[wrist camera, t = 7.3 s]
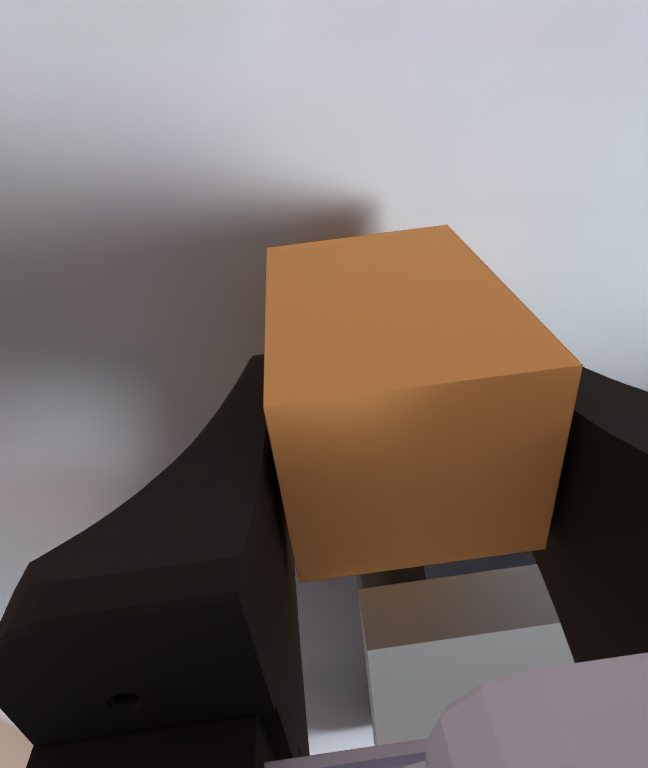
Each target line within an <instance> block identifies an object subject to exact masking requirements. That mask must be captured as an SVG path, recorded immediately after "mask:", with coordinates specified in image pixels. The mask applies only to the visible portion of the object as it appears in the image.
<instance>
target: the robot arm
mask: <svg viewBox="0 0 648 768" xmlns="http://www.w3.org/2000/svg"><path fill="white" fill-rule="evenodd" d="M263 399H264V354H262V355H255V356H253V357H252V358H251V359H250V360H249V362H248V363H247V365H246V367H245V369H244V371H243V372H242V374H241V376H240V377H239V379H238V381H237V382H236V384H235V386H234V387H233V389H232V390H231V392H230V393H229V395H228V396H227V398H226V399H225V401H224V402H223V404H222V405H221V407H220V408H219V410H218V411H217V412H216V414H215V415H214V416H213V418H212V419H211V420H210V421H209V423H208V424H207V425H206V427H205V428H204V429H203V430H202V432H201V433H200V434H199V435H198V437H197V438H196V439H195V440H194V441H193V442H192V443H191V445H190V446H189V447H188V448H187V449H186V450H185V451H184V452H183V453H182V454H181V455H180V456H179V457H178V458H177V459H176V460H175V461H174V462H173V463H172V464H171V465H170V466H168V467H167V468H166V469H165V470H164V471H163V472H161V473H160V474H159V475H158V476H157V477H156V478H154V479H153V480H152V481H151V482H150V483H149V484H147V485H146V486H145V487H144V488H143V489H142V490H141V491H139V492H138V493H137V494H135V495H134V496H133V497H132V498H130V499H129V500H127V501H126V502H125V503H123V504H122V505H121V506H119V507H118V508H117V509H115V510H114V511H112V512H111V513H110V514H108V515H107V516H105V517H104V518H102V519H101V520H99V521H98V522H97V523H95V524H93V525H92V526H90V527H89V528H87V529H86V530H84V531H83V532H81V533H79V534H78V535H76V536H74V537H73V538H71V539H69V540H68V541H66V542H64V543H63V544H61V545H59V546H58V547H56V548H54V549H53V550H51V551H49V552H48V553H46V554H44V555H43V556H41V557H39V558H37V559H35V560H34V561H32V562H30V563H29V564H28V566H27V568H26V570H25V572H24V574H23V575H22V577H21V579H20V581H19V583H18V585H17V586H16V588H15V590H14V592H13V594H12V597H11V599H10V601H9V603H8V606H7V608H6V610H5V612H4V614H3V617H2V619H1V621H0V709H1V710H2V711H3V712H4V713H5V714H6V715H7V716H8V717H9V719H10V720H11V721H12V722H13V723H14V724H15V725H16V726H17V727H18V729H19V730H20V731H21V732H22V733H23V734H24V735H25V736H26V737H27V738H28V740H29V741H30V742H31V743H32V744H33V745H34V746H33V749H32V752H31V755H30V758H29V761H28V764H27V767H26V768H648V392H647V391H644V390H641V389H638V388H635V387H632V386H629V385H626V384H624V383H621V382H618V381H616V380H613V379H610V378H608V377H606V376H603V375H601V374H598V373H596V372H594V371H591V370H589V369H586V368H584V367H582V372H581V377H580V382H579V387H578V391H577V396H576V401H575V406H574V411H573V416H572V421H571V426H570V431H569V435H568V440H567V445H566V450H565V455H564V460H563V465H562V470H561V475H560V479H559V484H558V489H557V494H556V499H555V504H554V509H553V514H552V518H551V523H550V528H549V533H548V538H547V543H546V548H545V549H543V550H535V551H532V553H533V556H534V558H535V560H536V563H537V565H538V567H539V570H540V572H541V575H542V577H543V580H544V582H545V585H546V587H547V590H548V593H549V595H550V598H551V600H552V603H553V605H554V608H555V610H556V613H557V616H558V618H559V621H560V624H561V626H562V629H563V632H564V635H565V637H566V640H567V643H568V646H569V648H570V651H571V654H572V657H573V659H574V662H575V663H573V664H566V665H559V666H552V667H545V668H539V669H532V670H528V671H525V672H521V673H518V674H514V675H510V676H507V677H503V678H500V679H496V680H493V681H489V682H486V683H482V684H480V685H479V686H477V687H476V688H474V689H473V690H471V691H469V692H468V693H466V694H465V695H463V696H461V697H460V698H458V699H457V700H455V701H453V702H452V703H450V704H449V705H447V706H446V707H445V709H444V710H443V712H442V714H441V715H440V717H439V719H438V721H437V723H436V724H435V726H434V728H433V730H432V732H431V734H430V735H429V737H428V738H426V739H419V740H412V741H406V742H399V743H392V744H385V745H379V746H372V747H365V748H358V749H351V750H345V751H338V752H331V753H324V754H318V755H311V756H310V754H309V743H308V732H307V721H306V709H305V697H304V685H303V673H302V661H301V648H300V635H299V622H298V609H297V595H296V581H295V566H294V555H293V550H292V545H291V540H290V535H289V530H288V526H287V521H286V516H285V511H284V506H283V501H282V496H281V491H280V486H279V481H278V477H277V472H276V467H275V462H274V457H273V452H272V447H271V442H270V437H269V432H268V427H267V423H266V418H265V413H264V408H263Z"/></svg>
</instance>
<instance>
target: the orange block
mask: <svg viewBox="0 0 648 768" xmlns="http://www.w3.org/2000/svg"><path fill="white" fill-rule="evenodd" d="M582 367H583V365H582V364H581V363H580V361H579V360H578V359H577V358H576V357H575V356H574V355H573V354H572V353H571V352H570V351H569V350H568V349H567V348H566V347H565V346H564V345H563V344H562V343H561V342H560V341H559V340H558V339H557V338H556V337H555V336H554V335H553V334H552V333H551V332H550V330H549V329H548V328H547V327H546V326H545V325H544V324H543V323H542V322H541V321H540V320H539V319H538V318H537V317H536V316H535V315H534V314H533V313H532V312H531V311H530V310H529V309H528V308H527V307H526V306H525V305H524V304H523V303H522V302H521V301H520V299H519V298H518V297H517V296H516V295H515V294H514V293H513V292H512V291H511V290H510V289H509V288H508V287H507V286H506V285H505V284H504V283H503V282H502V281H501V280H500V279H499V278H498V277H497V276H496V275H495V274H494V273H493V272H492V271H491V270H490V268H489V267H488V266H487V265H486V264H485V263H484V262H483V261H482V260H481V259H480V258H479V257H478V256H477V255H476V254H475V253H474V252H473V251H472V250H471V249H470V248H469V247H468V246H467V245H466V244H465V243H464V242H463V241H462V240H461V239H460V237H459V236H458V235H457V234H456V233H455V232H454V231H453V230H452V229H451V228H450V227H449V226H448V225H441V226H434V227H426V228H418V229H410V230H402V231H394V232H386V233H378V234H370V235H362V236H355V237H347V238H339V239H331V240H323V241H315V242H307V243H299V244H291V245H283V246H276V247H268V248H267V262H266V307H265V353H264V399H263V408H264V413H265V418H266V423H267V427H268V432H269V437H270V442H271V447H272V452H273V457H274V462H275V467H276V472H277V477H278V481H279V486H280V491H281V496H282V501H283V506H284V511H285V516H286V521H287V526H288V530H289V535H290V540H291V545H292V550H293V555H294V560H295V565H296V570H297V575H298V580H299V583H301V582H308V581H316V580H323V579H330V578H338V577H345V576H352V575H360V574H367V573H374V572H381V571H389V570H396V569H403V568H411V567H418V566H425V565H433V564H440V563H447V562H455V561H462V560H469V559H477V558H484V557H491V556H499V555H506V554H513V553H521V552H528V551H535V550H543V549H545V548H546V543H547V538H548V533H549V528H550V523H551V518H552V514H553V509H554V504H555V499H556V494H557V489H558V484H559V479H560V475H561V470H562V465H563V460H564V455H565V450H566V445H567V440H568V435H569V431H570V426H571V421H572V416H573V411H574V406H575V401H576V396H577V391H578V387H579V382H580V377H581V372H582Z"/></svg>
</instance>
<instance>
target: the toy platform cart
mask: <svg viewBox="0 0 648 768" xmlns="http://www.w3.org/2000/svg"><path fill="white" fill-rule="evenodd" d="M357 581H358V587H359V589H357V590H358V599H359V608H360V617H361V626H362V635H363V644H364V653H365V663H366V672H367V681H368V690H369V699H370V701H369V703H370V712H371V720H372V728H373V735H374V744H375V746H379V745H385V744H392V743H399V742H406V741H412V740H419V739H426V738H428V737H429V735H430V734H431V732H432V730H433V728H434V726H435V724H436V723H437V721H438V719H439V717H440V715H441V714H442V712H443V710H444V709H445V707H446V706H447V705H449V704H450V703H452V702H453V701H455V700H457V699H458V698H460V697H461V696H463V695H465V694H466V693H468V692H469V691H471V690H473V689H474V688H476V687H477V686H479V685H480V684H482V683H486V682H489V681H493V680H496V679H500V678H503V677H507V676H510V675H514V674H518V673H521V672H525V671H528V670H532V669H539V668H545V667H552V666H559V665H566V664H573V663H575V662H574V659H573V657H572V654H571V651H570V648H569V646H568V643H567V640H566V637H565V635H564V632H563V629H562V626H561V624H560V621H559V618H558V616H557V613H556V610H555V608H554V605H553V603H552V600H551V598H550V595H549V593H548V590H547V587H546V585H545V582H544V580H543V577H542V575H541V572H540V570H539V567H538V565H537V564H533V565H526V566H519V567H512V568H504V569H497V570H490V571H483V572H476V573H469V574H462V575H455V576H448V577H441V578H434V579H427V580H426V578H425V572H424V566H418V567H411V568H403V569H396V570H389V571H381V572H374V573H367V574H360V575H357Z"/></svg>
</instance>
